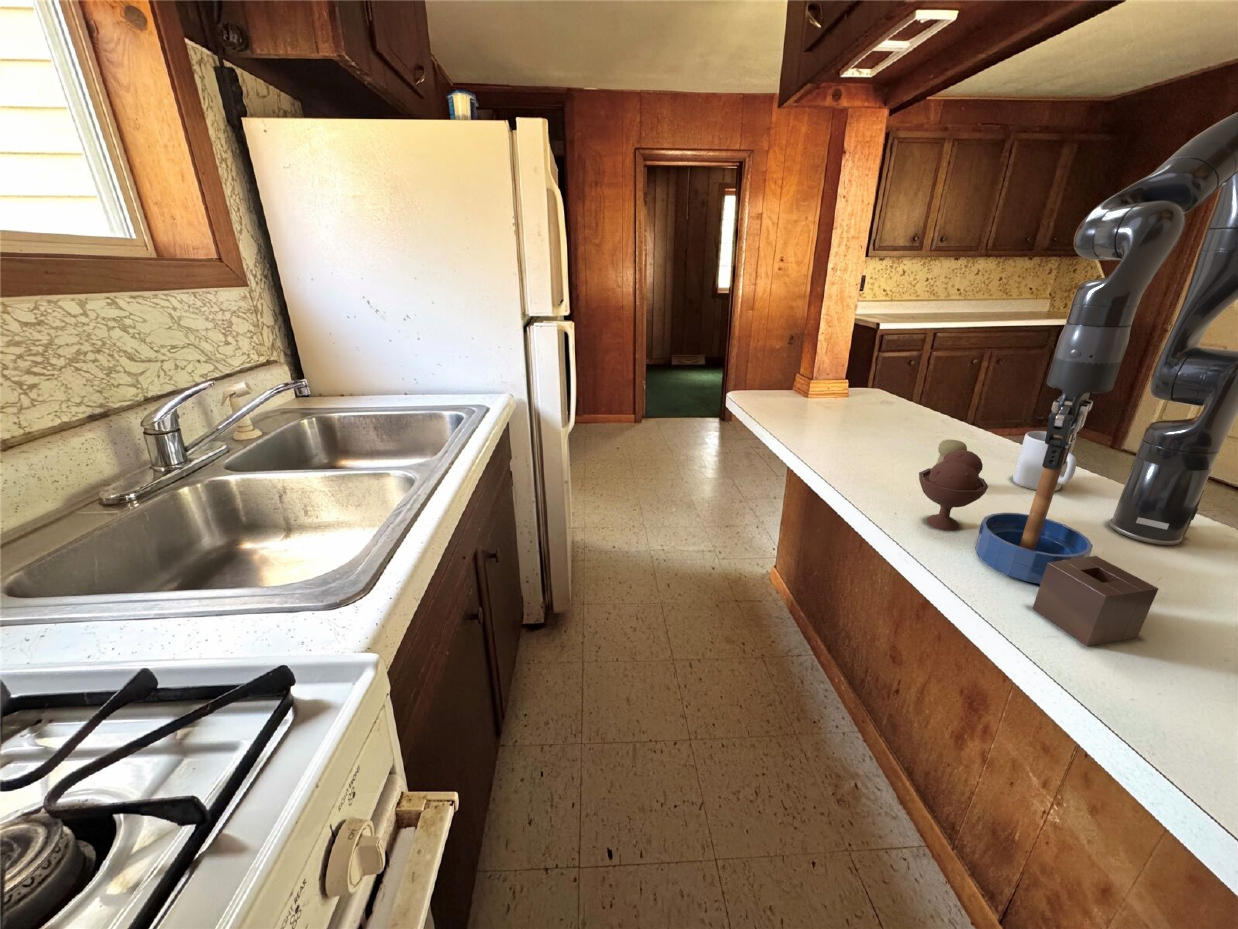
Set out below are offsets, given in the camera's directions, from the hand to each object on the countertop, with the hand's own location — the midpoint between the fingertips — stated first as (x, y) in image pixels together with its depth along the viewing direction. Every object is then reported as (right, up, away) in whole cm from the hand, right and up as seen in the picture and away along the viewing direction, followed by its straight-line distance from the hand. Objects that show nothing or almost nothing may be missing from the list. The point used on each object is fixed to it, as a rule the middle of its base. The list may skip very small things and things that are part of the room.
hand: (1053, 465), depth 80 cm
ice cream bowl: (-6, -11, +18) cm, 22 cm away
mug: (+24, -5, +32) cm, 40 cm away
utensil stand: (-3, -22, -9) cm, 24 cm away
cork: (+4, -5, +33) cm, 33 cm away
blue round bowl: (0, -16, +5) cm, 17 cm away
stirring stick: (+1, -14, +6) cm, 15 cm away
